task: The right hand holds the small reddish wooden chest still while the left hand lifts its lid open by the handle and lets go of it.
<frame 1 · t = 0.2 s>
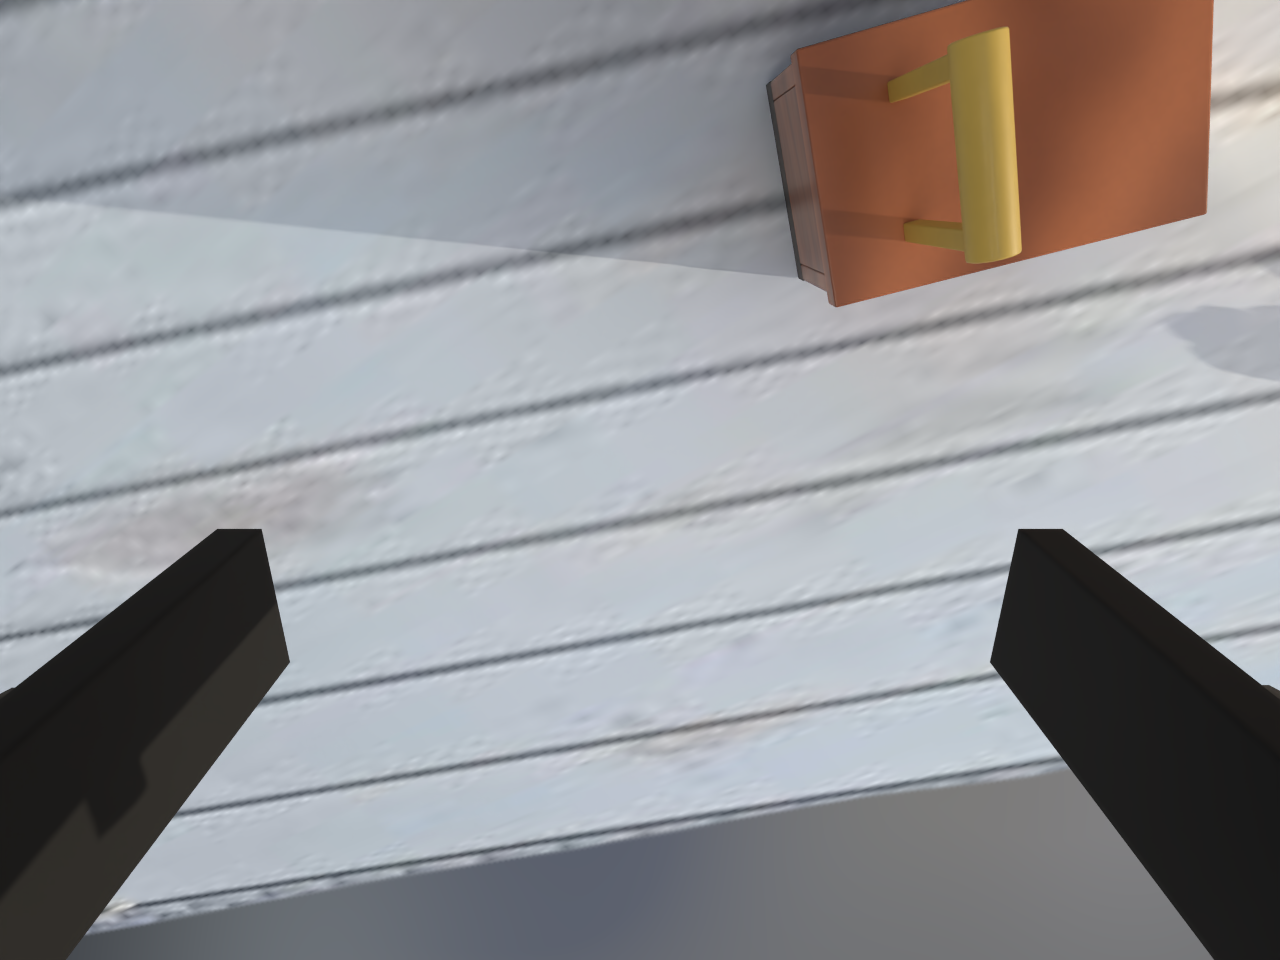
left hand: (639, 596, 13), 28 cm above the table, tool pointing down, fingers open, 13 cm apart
lid: (1055, 126, 23), point 13 cm above the table, hinge at 0.0°
chest: (919, 149, 35), on the table
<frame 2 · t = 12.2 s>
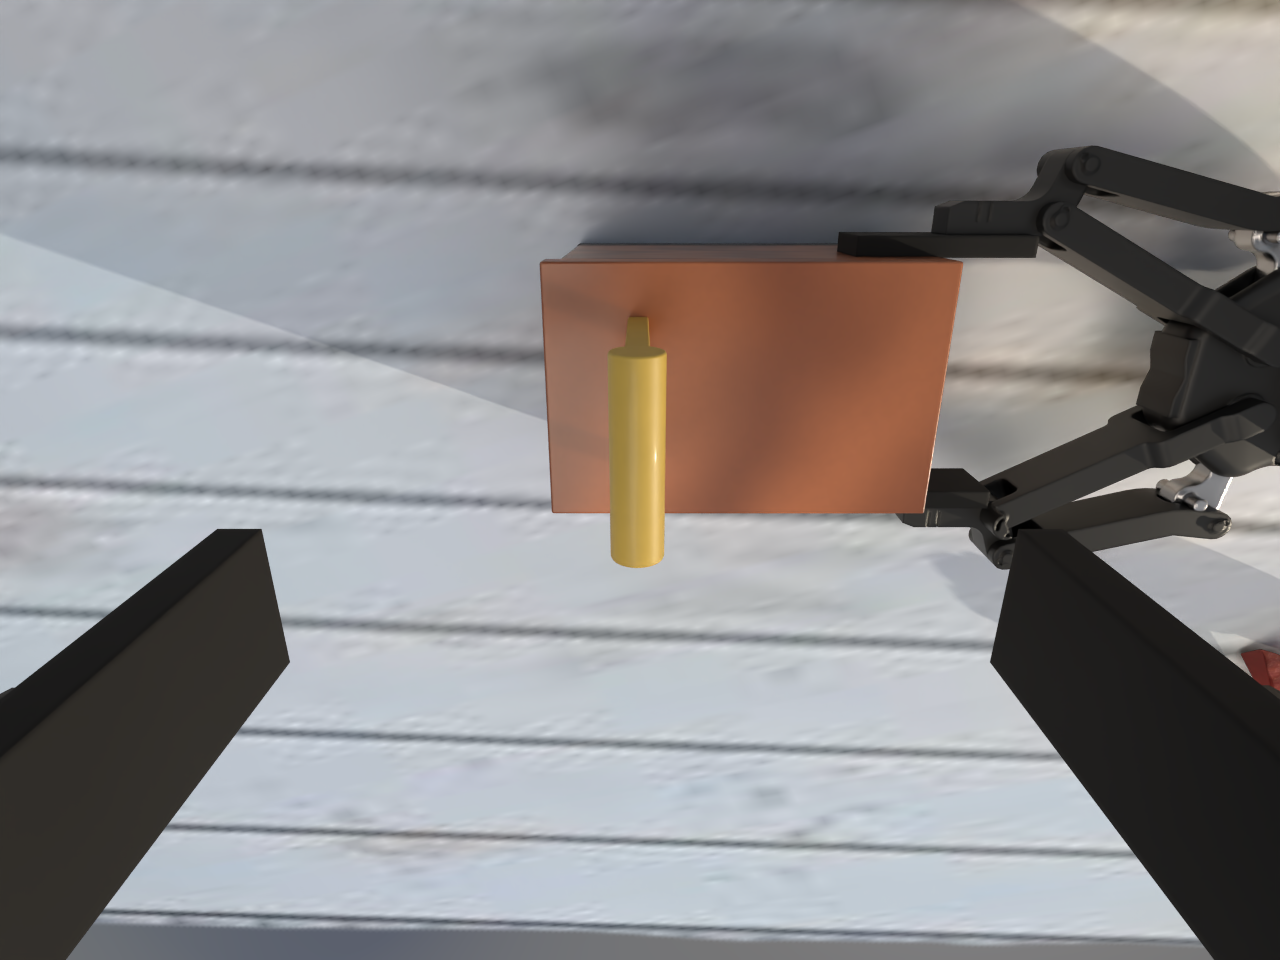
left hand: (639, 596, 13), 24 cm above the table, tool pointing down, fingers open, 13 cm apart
right hand: (834, 373, 29), fingers closed on chest, 9 cm apart
lid: (757, 421, 23), point 13 cm above the table, hinge at 0.0°
chest: (723, 343, 35), on the table, touching right hand
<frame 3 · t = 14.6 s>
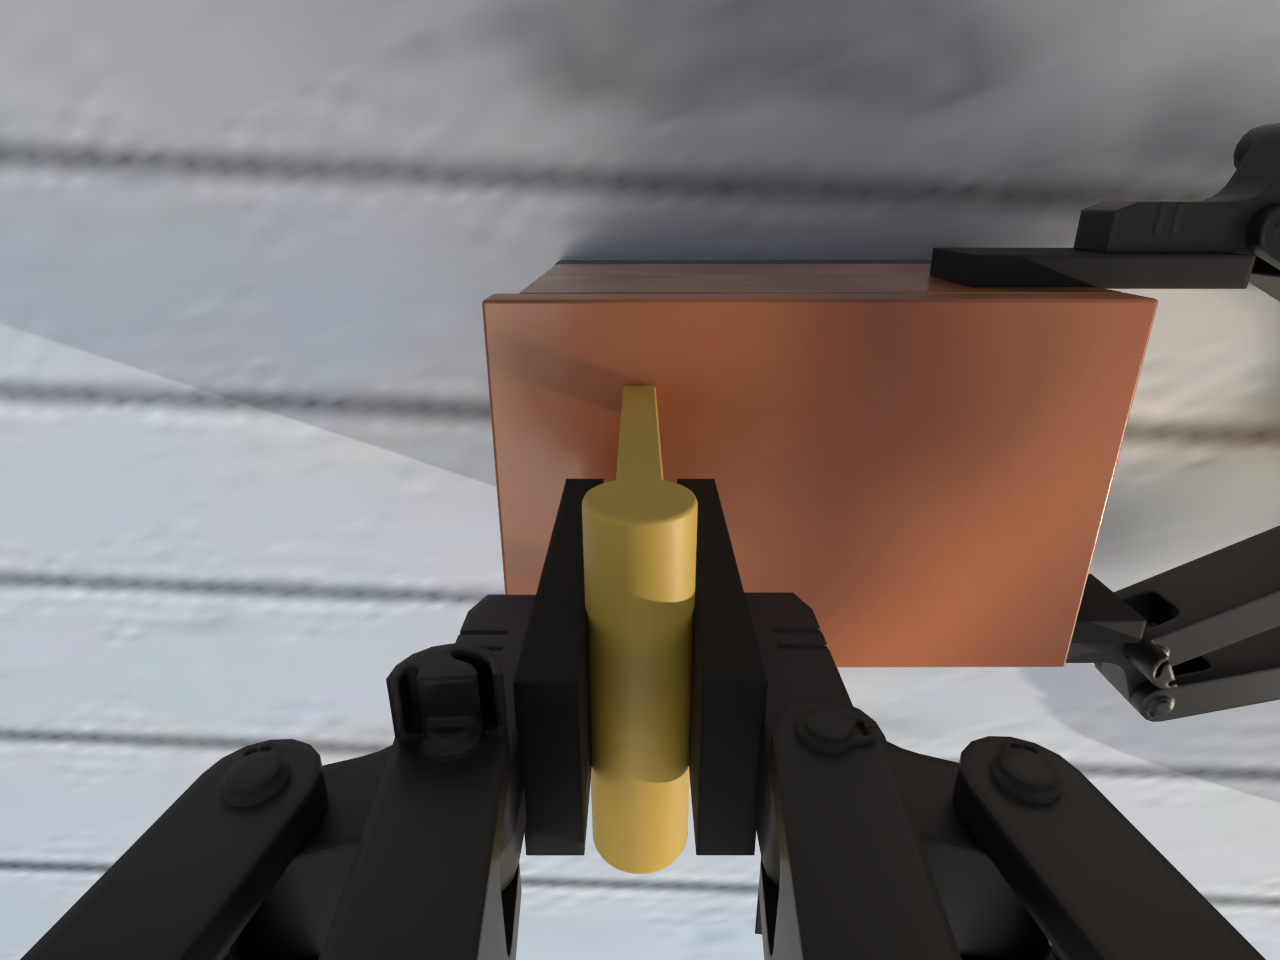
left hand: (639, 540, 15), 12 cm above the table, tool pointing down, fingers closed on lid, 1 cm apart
lid: (837, 567, 14), point 13 cm above the table, hinge at 0.3°, touching left hand
chest: (753, 393, 26), on the table, touching right hand
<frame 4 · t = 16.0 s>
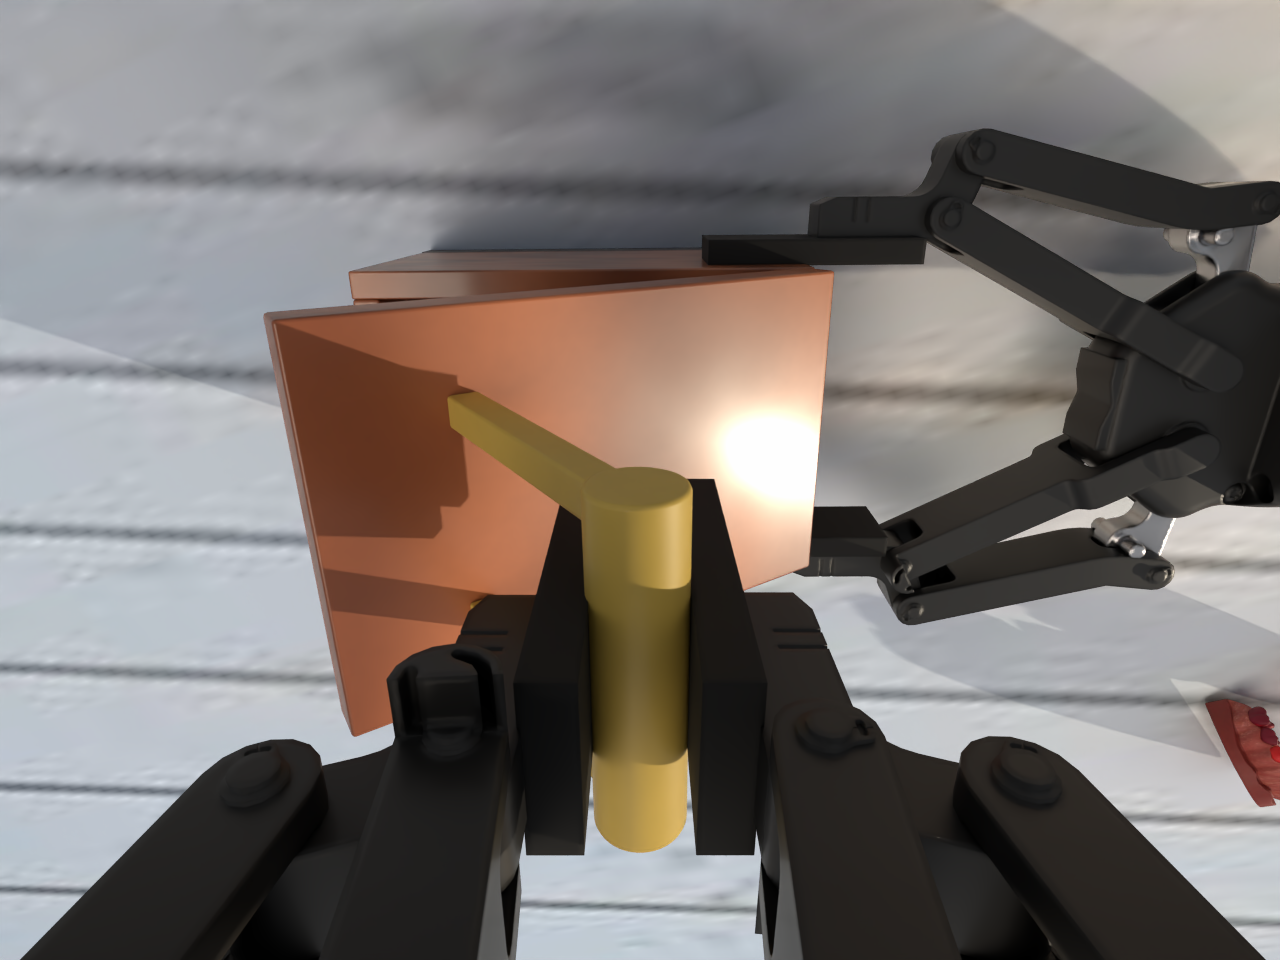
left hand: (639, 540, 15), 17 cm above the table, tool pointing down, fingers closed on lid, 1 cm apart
right hand: (701, 401, 25), fingers closed on chest, 9 cm apart
lid: (696, 524, 15), point 16 cm above the table, hinge at 33.7°, touching left hand
dental model: (1274, 707, 37), on the table
chest: (602, 362, 31), on the table, touching right hand
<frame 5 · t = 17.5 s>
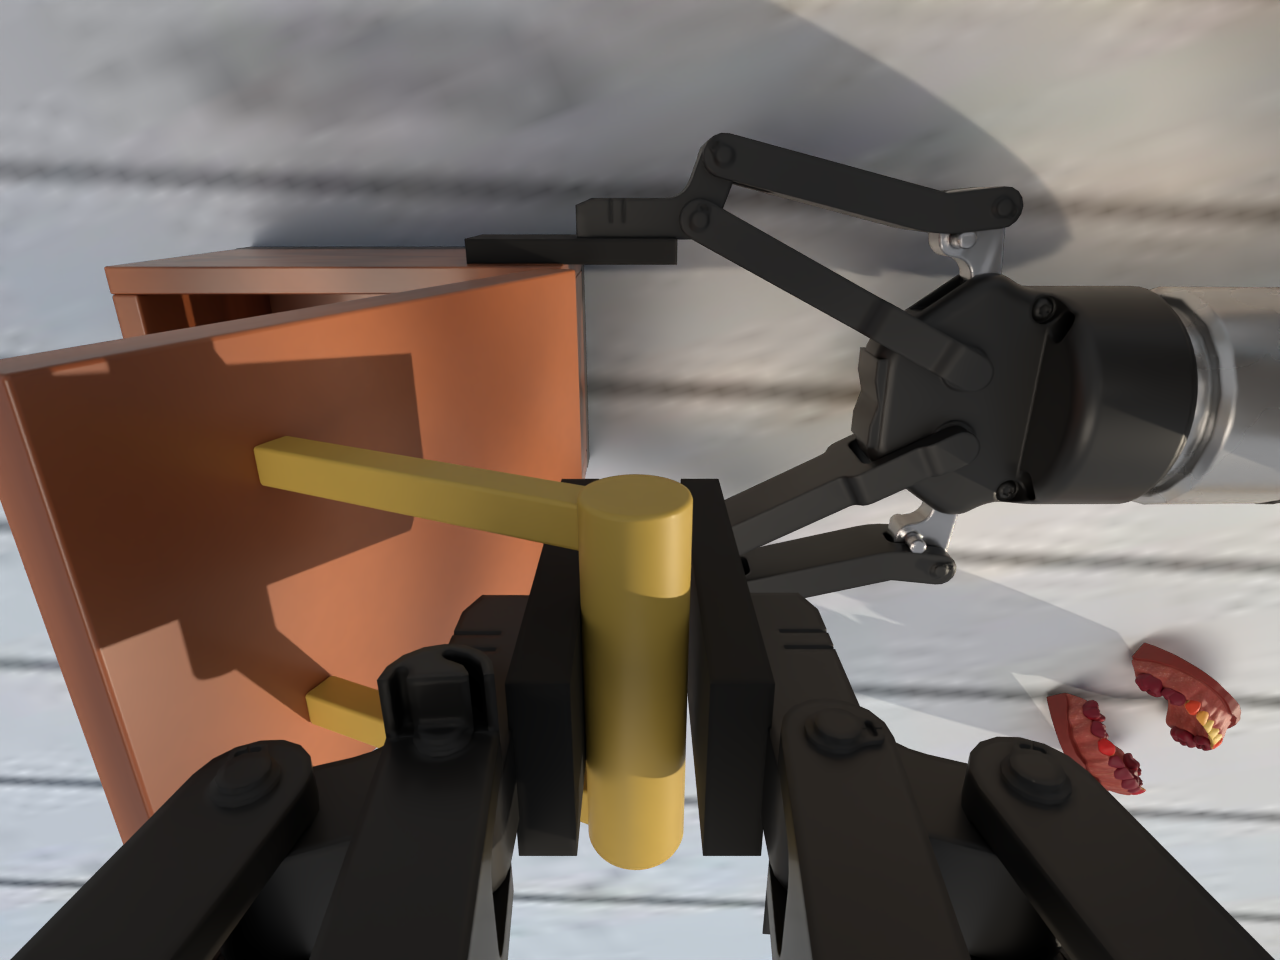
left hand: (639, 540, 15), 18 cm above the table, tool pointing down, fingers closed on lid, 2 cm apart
right hand: (487, 397, 25), fingers closed on chest, 9 cm apart
lid: (555, 533, 15), point 17 cm above the table, hinge at 66.5°, touching left hand
dental model: (1115, 701, 38), on the table
chest: (429, 358, 31), on the table, touching right hand
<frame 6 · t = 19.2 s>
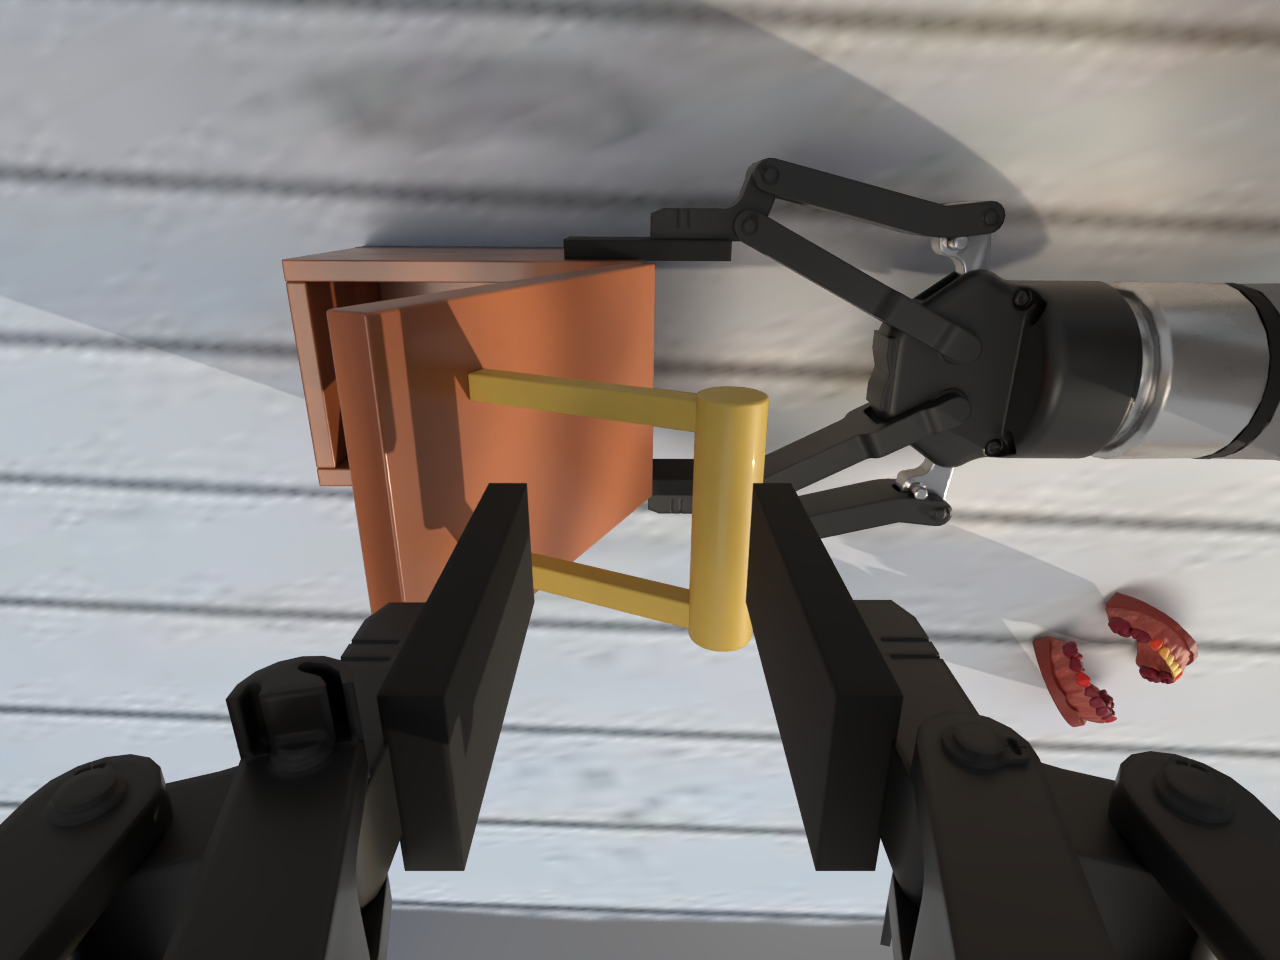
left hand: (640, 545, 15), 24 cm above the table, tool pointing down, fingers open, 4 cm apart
right hand: (571, 368, 31), fingers closed on chest, 9 cm apart
lid: (652, 451, 21), point 17 cm above the table, hinge at 64.8°
dental model: (1092, 645, 43), on the table
chest: (508, 341, 37), on the table, touching right hand
when the right hand's fingers open (6 cm above the table, at t = 21.9 s): chest stays where it is, on the table.
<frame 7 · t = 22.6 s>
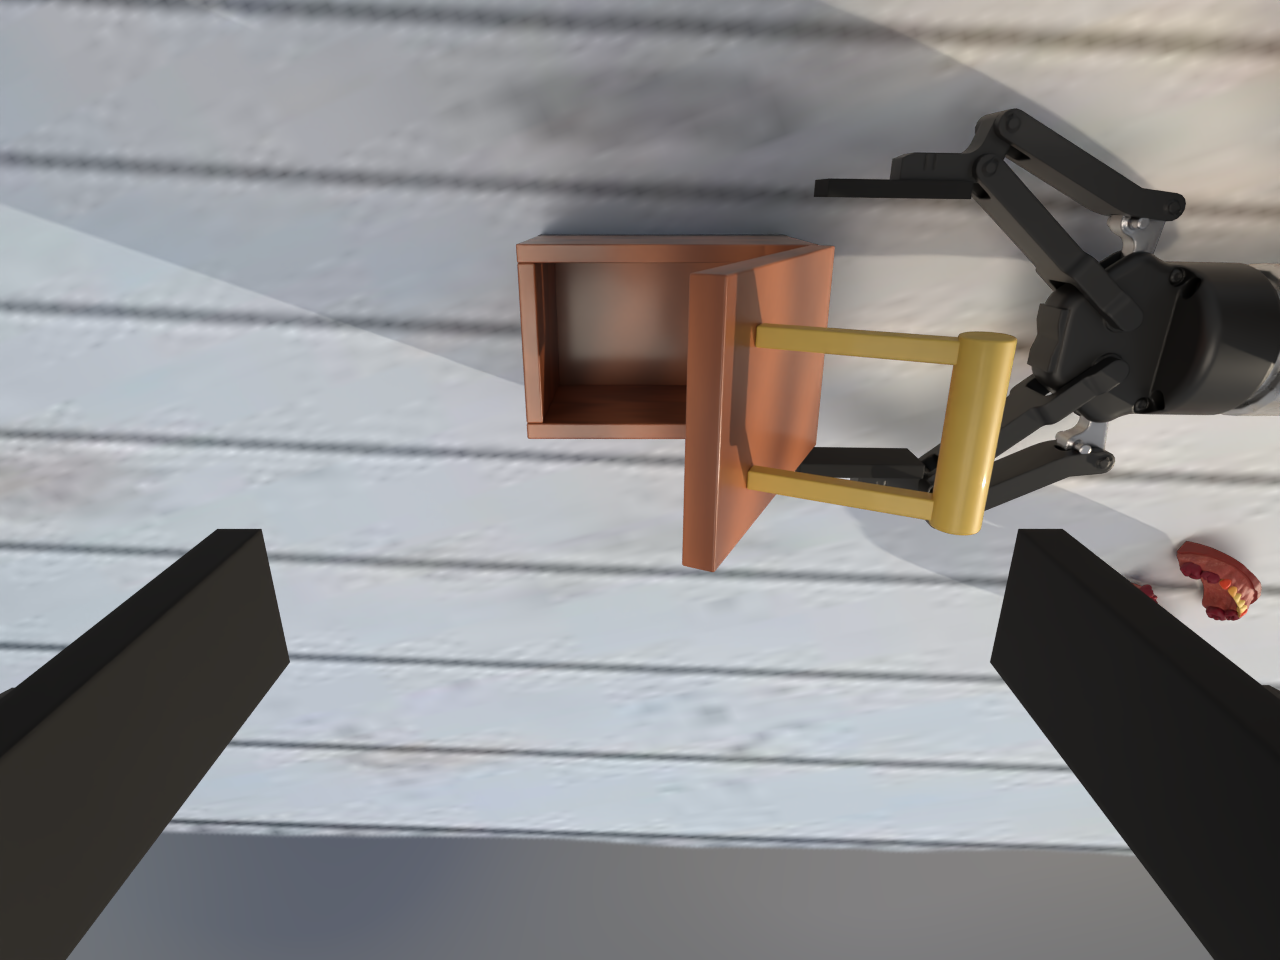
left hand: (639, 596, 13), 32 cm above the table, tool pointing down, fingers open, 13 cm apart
right hand: (805, 334, 36), fingers open, 13 cm apart
lid: (869, 393, 26), point 17 cm above the table, hinge at 64.3°
dental model: (1162, 589, 49), on the table
chest: (661, 317, 42), on the table
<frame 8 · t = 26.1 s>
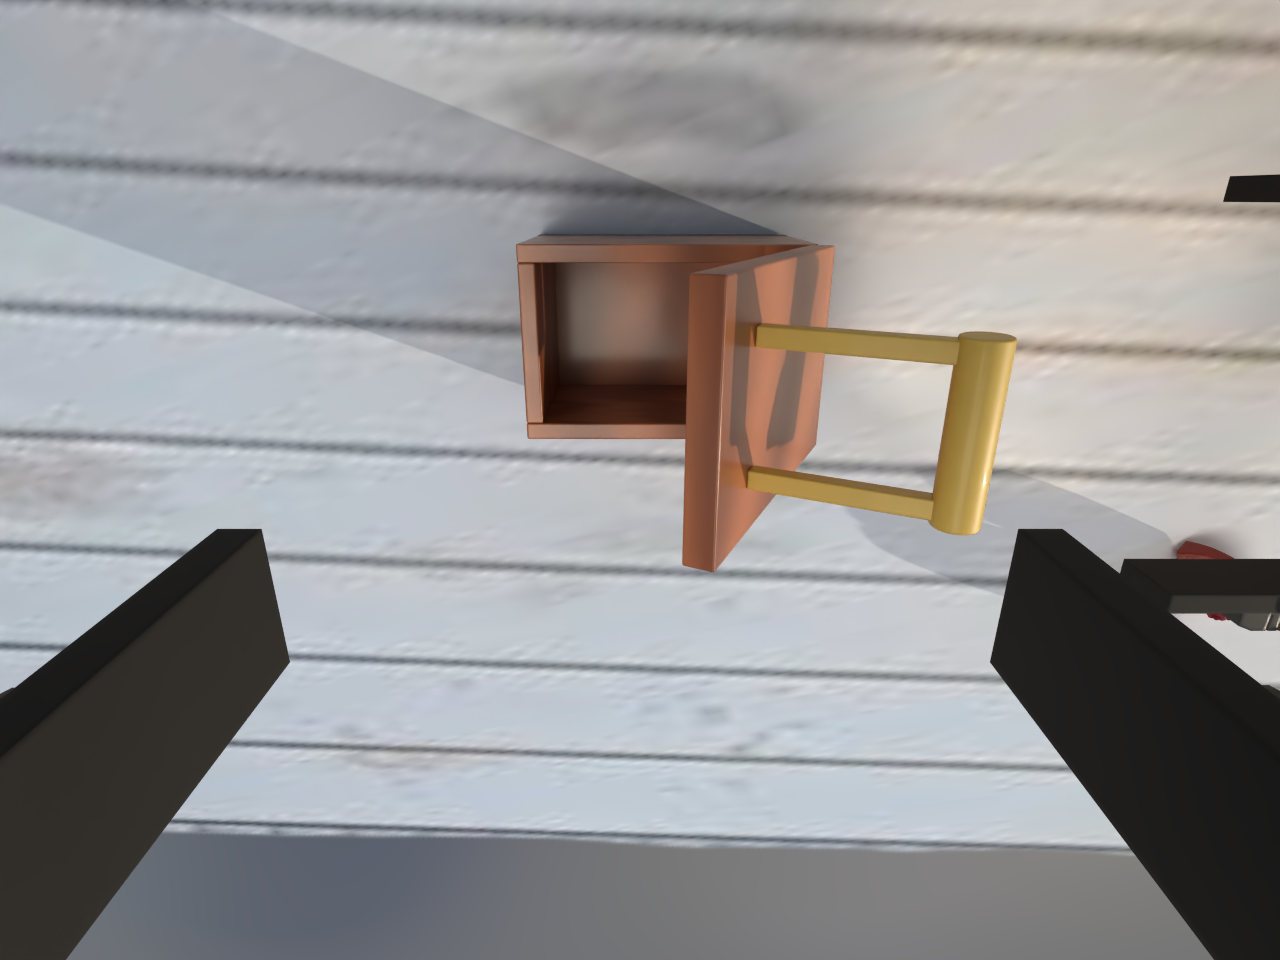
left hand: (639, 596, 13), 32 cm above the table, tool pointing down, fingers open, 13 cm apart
lid: (869, 393, 26), point 17 cm above the table, hinge at 64.3°
dental model: (1162, 589, 49), on the table
chest: (661, 317, 42), on the table
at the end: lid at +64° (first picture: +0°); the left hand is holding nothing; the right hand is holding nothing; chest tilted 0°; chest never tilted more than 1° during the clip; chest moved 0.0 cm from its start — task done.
